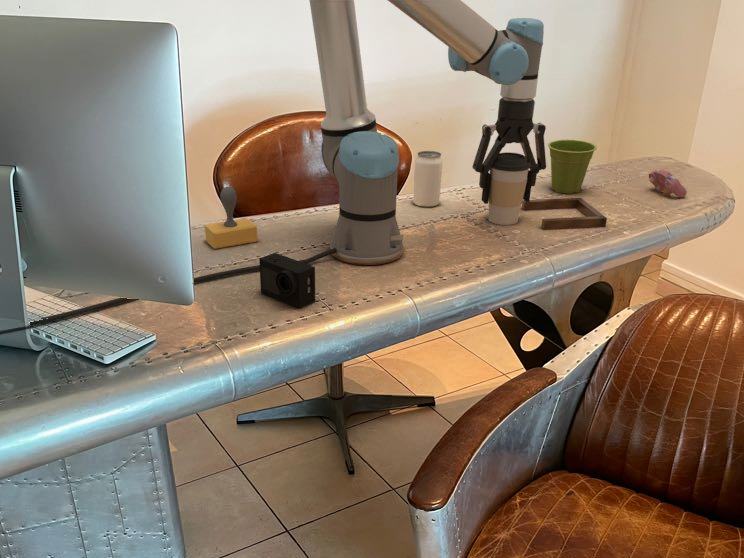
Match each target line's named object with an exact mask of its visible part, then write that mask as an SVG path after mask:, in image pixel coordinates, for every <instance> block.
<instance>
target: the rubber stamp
mask: <svg viewBox="0 0 744 558" xmlns="http://www.w3.org/2000/svg"><path fill="white" fill-rule="evenodd" d="M219 197H220V201H221V204H222V207H223V209H224V212H225V214H226V220H225V221H221V222H214V223H208V224H205V225H204V233H205V242H207V244H209V246H210V247H212V248H213V249H215V250H217V249H224V248H228V247H233V246H234V247H235V246H240V245H246V244H251V243H256V242H258V226H257V225H256V224H255V223H254V222H252V220H250V219H248V218H247V217H245V218H238V219H234V212H235V208H236V205H237V201H238V195H237V193H236V190H235V189H234V188H233V187H231V186H225V187H223V188H222V189H221V191H220V196H219Z"/></svg>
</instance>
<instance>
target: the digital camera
mask: <svg viewBox="0 0 744 558" xmlns="http://www.w3.org/2000/svg"><path fill="white" fill-rule="evenodd" d="M258 265H260V270H259V279H260V280H259V281H260V283H259V284H260V293H261V294H263V295H265V296H268V297H270V298H273V299H275V300H277V301H279V302H282V303H285V304H287V305H290V306H292V307H295V308H297V309H302V308H304V307H306V306H308V305H311V304H313V303H315V302H316V267H315V266H312V265H310V264H309V263H308V264H305V263H303V262H300V260H297V259H294V258H291V257H288V256H286V255H283V254H280V253H277V252H273V253H271V254H267V255H265V256H263V257H260V258H259V264H258Z"/></svg>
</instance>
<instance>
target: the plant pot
mask: <svg viewBox="0 0 744 558" xmlns="http://www.w3.org/2000/svg"><path fill="white" fill-rule="evenodd" d="M547 147H548V148H549V157H550V178H551V181H550V182H551V183H550V184H551V190H552V191H555V192H556V193H559V194H566V195H569V194H573V193H575V194H577V193H579V192H581V190H582V187H583V183H584V180H585V178H586V174H587V171H588V167H589V165H590V161H591V160H592V158H593V155H594V152H595V151H596V150H597V149H598V147H597V145H596V144H594V143H592V142H589V141H585V140H579V139H557V140H553V141H549V143H547Z"/></svg>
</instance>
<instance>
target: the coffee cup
mask: <svg viewBox="0 0 744 558" xmlns="http://www.w3.org/2000/svg"><path fill="white" fill-rule="evenodd" d="M528 170H529V171H530V166H529V162H528V160H526V157H525V155H524V154H521V153H518V152H510V151H509V152H500V153H499V155H498V157H497V158H496V160H495V162H494V163H493V165H492V167H491V169H490V170H489V174H491V181H490V190H489V200H488V218H487V219H488V221H489V222H490V223H492V224H496V225H500V226H501V225H502V226H511V225H515V224H517V223H518V221H519V216H520V212H521V209H522V201H523V197H524V192H525V188H526V183H527V174H528Z"/></svg>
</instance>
